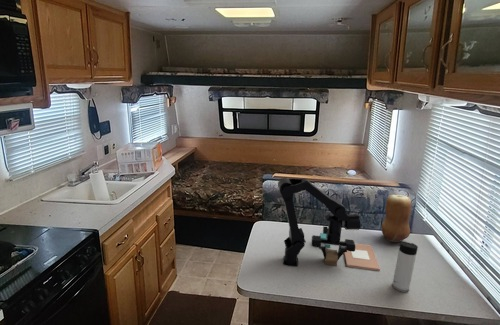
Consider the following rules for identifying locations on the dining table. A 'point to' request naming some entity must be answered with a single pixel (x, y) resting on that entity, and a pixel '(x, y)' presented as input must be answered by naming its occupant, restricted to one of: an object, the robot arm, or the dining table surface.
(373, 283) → the dining table surface
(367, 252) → the baseplate
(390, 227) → the butternut squash
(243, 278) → the dining table surface
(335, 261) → the walnut block
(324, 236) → the teal block
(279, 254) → the dining table surface
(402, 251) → the travel mug
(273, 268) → the dining table surface
